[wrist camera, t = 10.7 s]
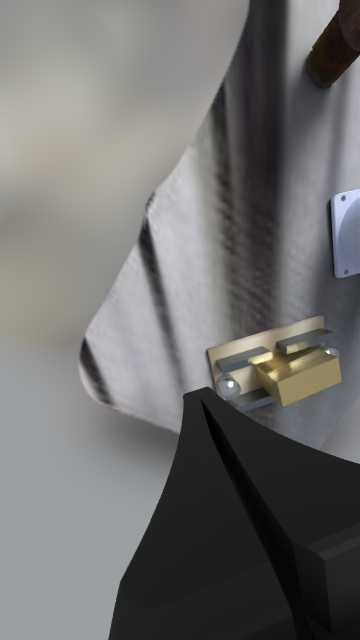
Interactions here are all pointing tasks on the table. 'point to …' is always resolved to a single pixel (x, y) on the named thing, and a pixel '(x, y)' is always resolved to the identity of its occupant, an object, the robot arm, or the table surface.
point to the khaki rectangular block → (298, 374)
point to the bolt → (336, 45)
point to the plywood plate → (265, 339)
